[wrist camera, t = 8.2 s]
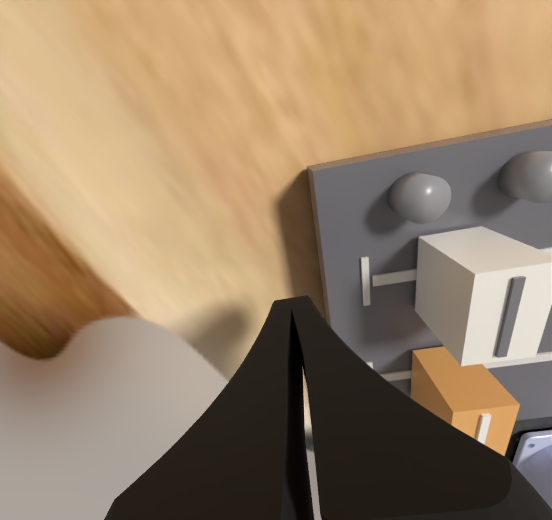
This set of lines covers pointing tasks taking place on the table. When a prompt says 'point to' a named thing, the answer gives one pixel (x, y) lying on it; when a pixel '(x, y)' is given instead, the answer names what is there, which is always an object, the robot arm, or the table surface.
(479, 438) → the fader
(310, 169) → the mixer board
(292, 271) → the table surface
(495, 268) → the fader
